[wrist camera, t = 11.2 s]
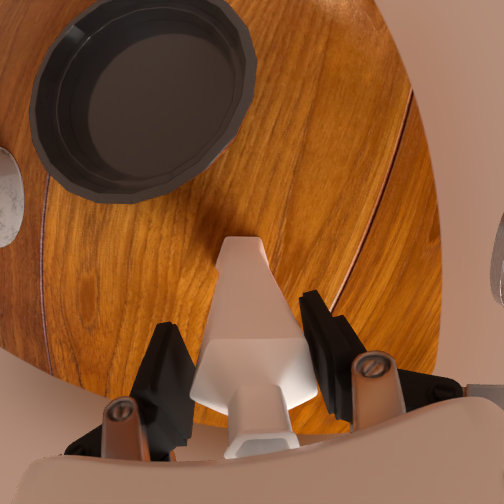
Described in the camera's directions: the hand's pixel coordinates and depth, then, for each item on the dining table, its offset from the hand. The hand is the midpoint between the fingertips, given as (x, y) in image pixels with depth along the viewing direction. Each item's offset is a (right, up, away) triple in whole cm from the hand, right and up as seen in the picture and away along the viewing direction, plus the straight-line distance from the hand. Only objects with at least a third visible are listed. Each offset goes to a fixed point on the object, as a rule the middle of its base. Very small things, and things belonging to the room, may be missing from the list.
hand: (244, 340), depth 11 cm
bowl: (-7, +14, +5) cm, 17 cm away
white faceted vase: (-1, +3, +9) cm, 10 cm away
